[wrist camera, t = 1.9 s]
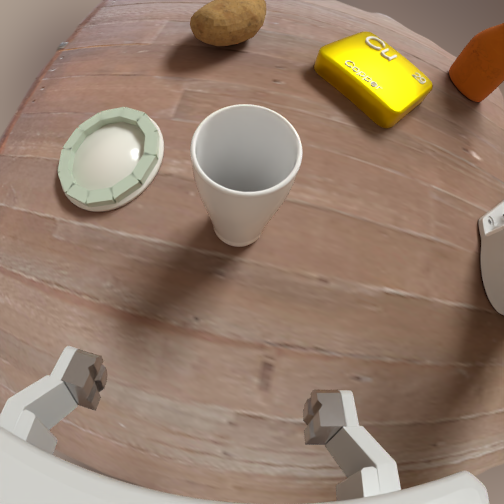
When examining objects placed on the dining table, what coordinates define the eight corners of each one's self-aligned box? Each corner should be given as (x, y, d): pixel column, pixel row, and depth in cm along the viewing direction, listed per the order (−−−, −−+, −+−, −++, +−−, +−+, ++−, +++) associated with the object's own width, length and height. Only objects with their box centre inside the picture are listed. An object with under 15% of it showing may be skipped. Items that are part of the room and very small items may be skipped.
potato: (279, 31, 39) (286, -5, 31) (227, 69, 36) (228, 26, 28) (233, 13, 40) (235, -21, 32) (177, 48, 37) (172, 9, 29)
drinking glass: (195, 239, 30) (167, 171, 16) (222, 184, 32) (219, 90, 17) (256, 265, 30) (281, 216, 16) (280, 207, 32) (317, 125, 17)
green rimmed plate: (136, 97, 34) (133, 89, 32) (185, 166, 32) (183, 158, 30) (51, 154, 31) (45, 148, 30) (84, 235, 30) (77, 231, 28)
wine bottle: (451, 91, 40) (532, -6, 11) (442, 62, 42) (506, -28, 13) (485, 112, 40) (566, 31, 11) (474, 82, 43) (541, 4, 13)
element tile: (307, 68, 38) (314, 46, 33) (360, 45, 41) (369, 27, 36) (383, 134, 36) (398, 115, 31) (425, 99, 39) (438, 83, 34)
